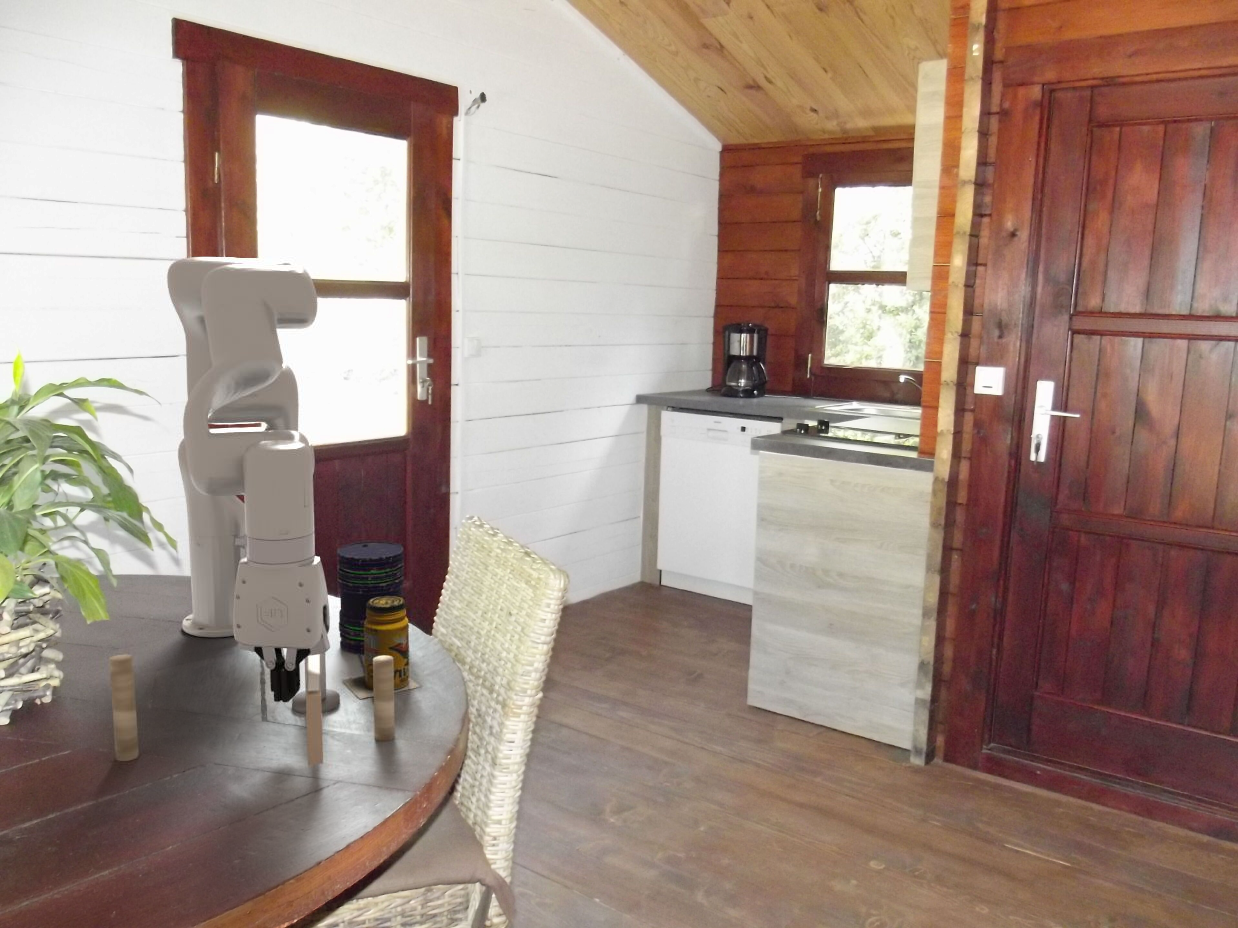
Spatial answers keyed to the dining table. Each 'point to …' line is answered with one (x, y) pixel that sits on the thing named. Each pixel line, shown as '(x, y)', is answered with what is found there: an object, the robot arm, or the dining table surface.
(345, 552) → the storage jar
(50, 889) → the dining table surface
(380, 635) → the condiment
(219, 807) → the dining table surface
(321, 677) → the gate
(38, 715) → the dining table surface
